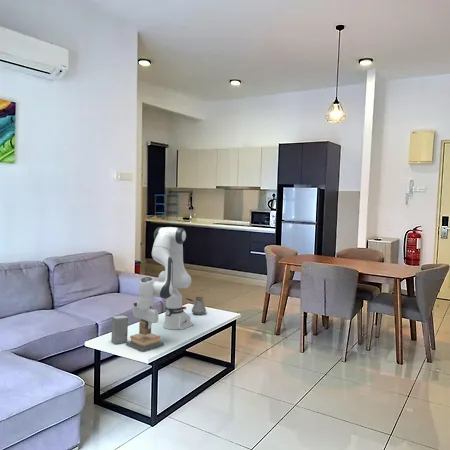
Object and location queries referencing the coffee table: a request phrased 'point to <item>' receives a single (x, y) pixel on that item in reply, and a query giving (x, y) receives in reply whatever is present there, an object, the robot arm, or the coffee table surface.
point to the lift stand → (144, 342)
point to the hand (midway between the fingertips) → (145, 327)
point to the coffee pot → (198, 306)
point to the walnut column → (144, 327)
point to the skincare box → (119, 329)
